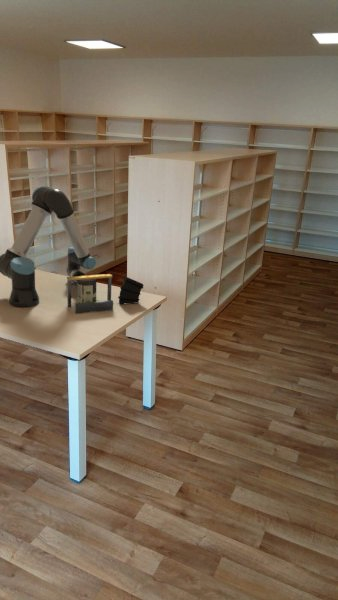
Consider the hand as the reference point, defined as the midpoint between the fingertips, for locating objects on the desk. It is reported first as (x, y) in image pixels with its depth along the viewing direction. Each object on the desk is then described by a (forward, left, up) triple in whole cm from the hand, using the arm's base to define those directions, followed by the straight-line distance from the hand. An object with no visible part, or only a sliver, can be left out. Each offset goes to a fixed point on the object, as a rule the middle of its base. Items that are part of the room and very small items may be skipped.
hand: (89, 290), depth 238 cm
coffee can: (-3, -5, -7) cm, 9 cm away
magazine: (+21, -7, -7) cm, 24 cm away
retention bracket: (-2, -9, -7) cm, 12 cm away
